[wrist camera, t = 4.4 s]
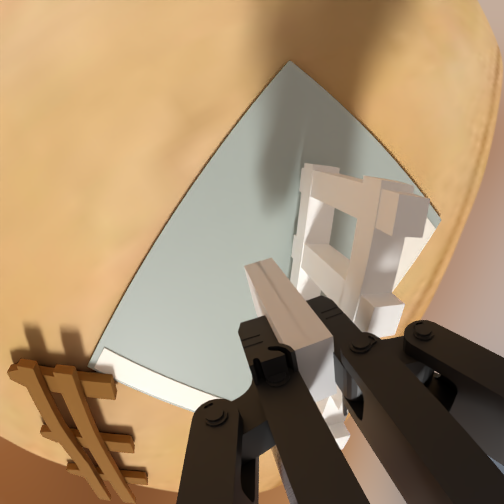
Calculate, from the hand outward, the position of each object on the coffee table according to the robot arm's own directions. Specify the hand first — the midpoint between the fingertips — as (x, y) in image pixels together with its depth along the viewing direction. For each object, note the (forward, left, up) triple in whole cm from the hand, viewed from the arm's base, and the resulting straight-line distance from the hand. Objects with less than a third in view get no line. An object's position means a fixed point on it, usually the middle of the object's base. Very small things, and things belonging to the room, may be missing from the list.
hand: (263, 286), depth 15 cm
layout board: (+1, +3, -5) cm, 6 cm away
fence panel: (+1, +5, -4) cm, 6 cm away
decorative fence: (+25, -2, -5) cm, 26 cm away
